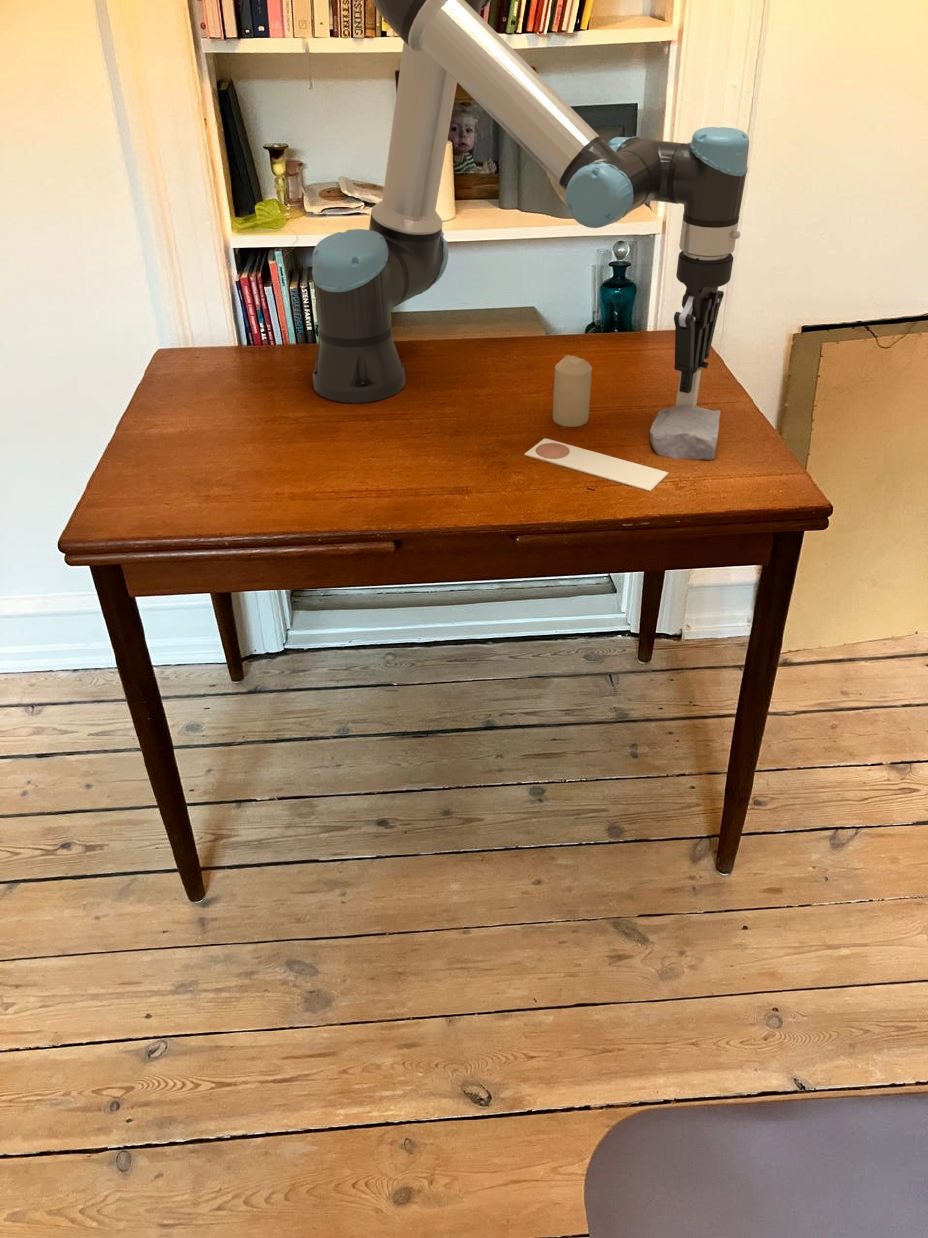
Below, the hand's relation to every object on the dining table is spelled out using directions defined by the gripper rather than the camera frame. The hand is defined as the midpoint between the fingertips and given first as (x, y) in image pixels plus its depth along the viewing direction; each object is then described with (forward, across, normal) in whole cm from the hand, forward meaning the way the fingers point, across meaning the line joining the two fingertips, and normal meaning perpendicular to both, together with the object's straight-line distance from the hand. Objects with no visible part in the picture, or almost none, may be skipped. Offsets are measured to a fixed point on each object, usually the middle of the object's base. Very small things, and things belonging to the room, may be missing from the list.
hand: (685, 408), depth 153 cm
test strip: (+2, -20, +5) cm, 21 cm away
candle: (+2, -9, +15) cm, 18 cm away
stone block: (+2, -6, -3) cm, 7 cm away
